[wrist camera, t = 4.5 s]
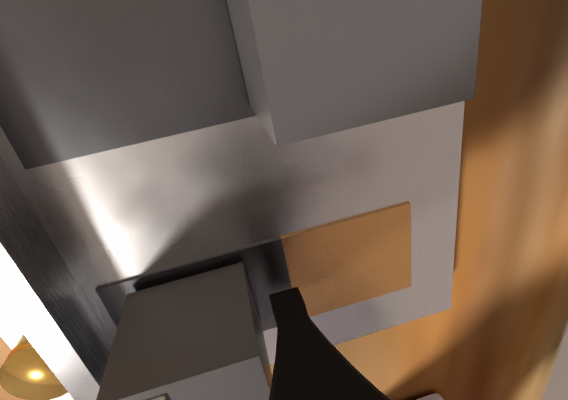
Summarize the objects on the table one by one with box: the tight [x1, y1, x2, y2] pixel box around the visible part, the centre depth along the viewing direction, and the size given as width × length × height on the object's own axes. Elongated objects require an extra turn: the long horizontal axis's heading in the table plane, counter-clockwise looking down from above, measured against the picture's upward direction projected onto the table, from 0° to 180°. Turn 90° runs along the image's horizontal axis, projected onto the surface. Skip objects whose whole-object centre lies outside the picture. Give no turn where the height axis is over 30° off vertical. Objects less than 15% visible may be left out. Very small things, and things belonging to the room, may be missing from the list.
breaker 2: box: [227, 0, 482, 147], centre depth 6 cm, size 3×4×4 cm
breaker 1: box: [96, 262, 272, 400], centre depth 9 cm, size 3×4×4 cm
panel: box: [0, 0, 465, 400], centre depth 9 cm, size 18×15×3 cm
